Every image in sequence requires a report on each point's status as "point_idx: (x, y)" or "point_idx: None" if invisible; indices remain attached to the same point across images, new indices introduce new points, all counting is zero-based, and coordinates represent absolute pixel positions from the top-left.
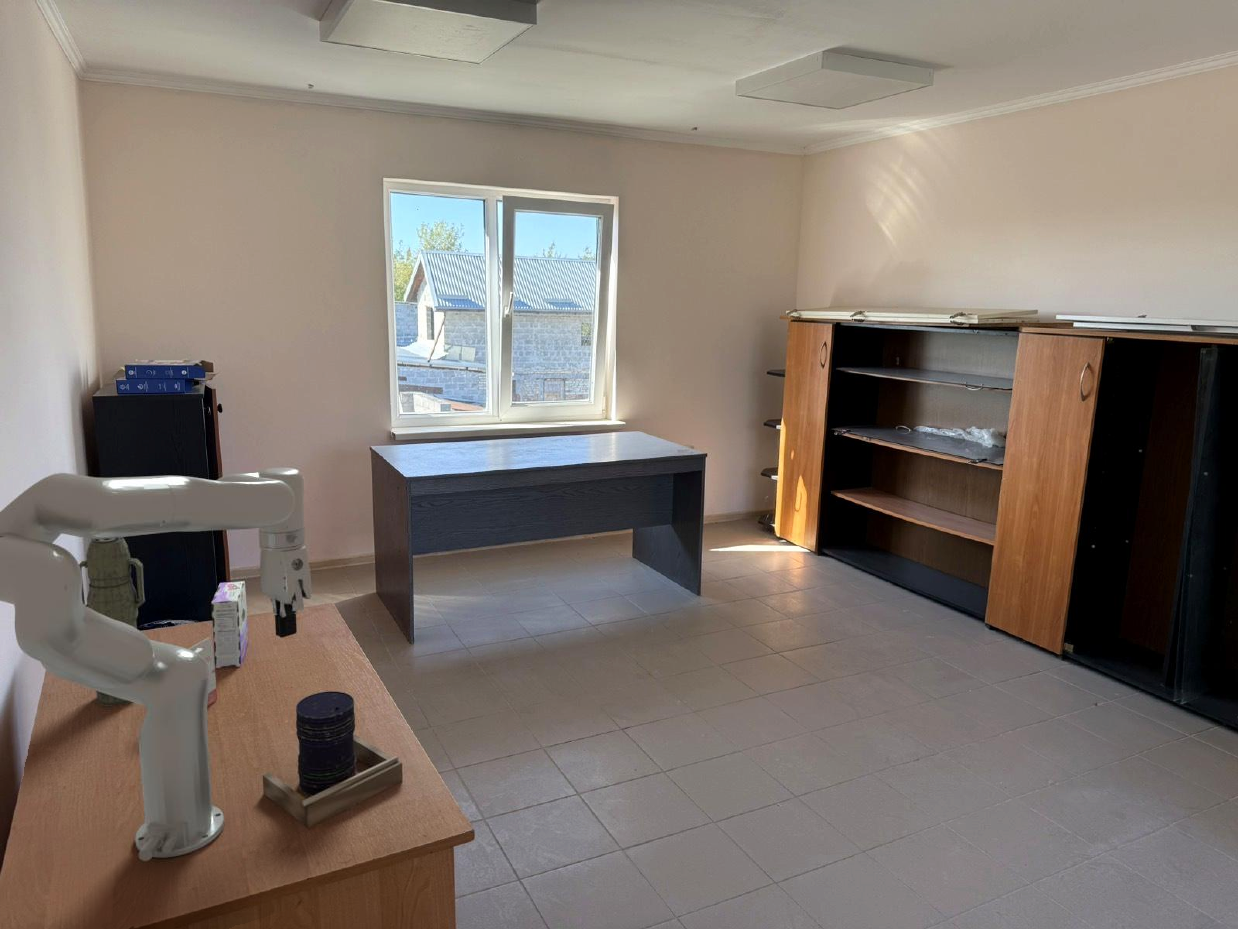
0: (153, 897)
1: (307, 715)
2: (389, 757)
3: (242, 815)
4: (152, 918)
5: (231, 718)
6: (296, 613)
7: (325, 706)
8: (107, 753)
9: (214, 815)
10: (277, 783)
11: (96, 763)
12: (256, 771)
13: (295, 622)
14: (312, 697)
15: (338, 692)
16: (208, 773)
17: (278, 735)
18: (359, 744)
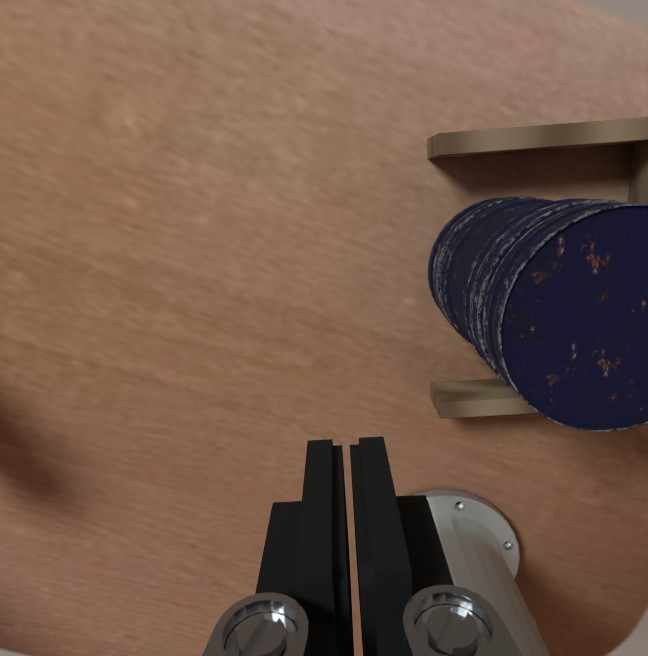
0: (573, 631)
1: (634, 414)
2: (636, 125)
3: (471, 458)
4: (619, 645)
5: (25, 309)
6: (472, 597)
7: (628, 330)
8: (39, 557)
9: (456, 511)
10: (501, 409)
11: (70, 581)
12: (330, 371)
13: (393, 496)
14: (516, 331)
15: (566, 226)
16: (526, 623)
17: (197, 257)
18: (491, 150)
